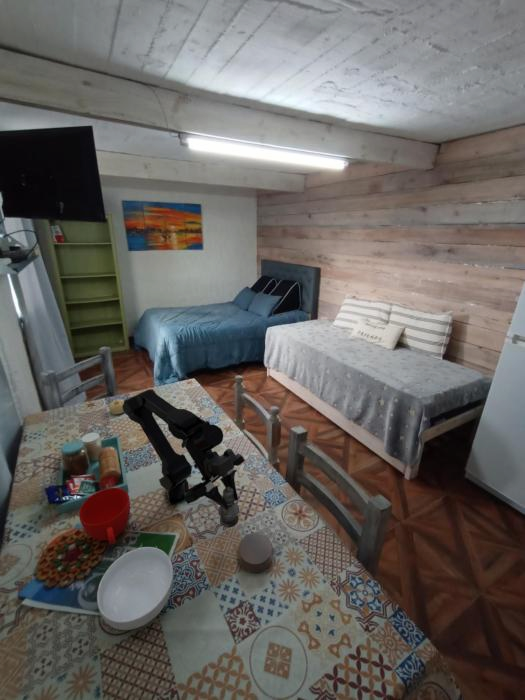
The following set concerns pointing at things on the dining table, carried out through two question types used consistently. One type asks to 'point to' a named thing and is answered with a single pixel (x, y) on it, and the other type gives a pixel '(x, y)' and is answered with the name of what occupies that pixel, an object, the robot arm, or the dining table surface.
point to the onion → (116, 406)
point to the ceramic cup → (105, 514)
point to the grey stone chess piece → (229, 509)
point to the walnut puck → (255, 552)
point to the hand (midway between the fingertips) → (232, 504)
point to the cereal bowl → (135, 588)
